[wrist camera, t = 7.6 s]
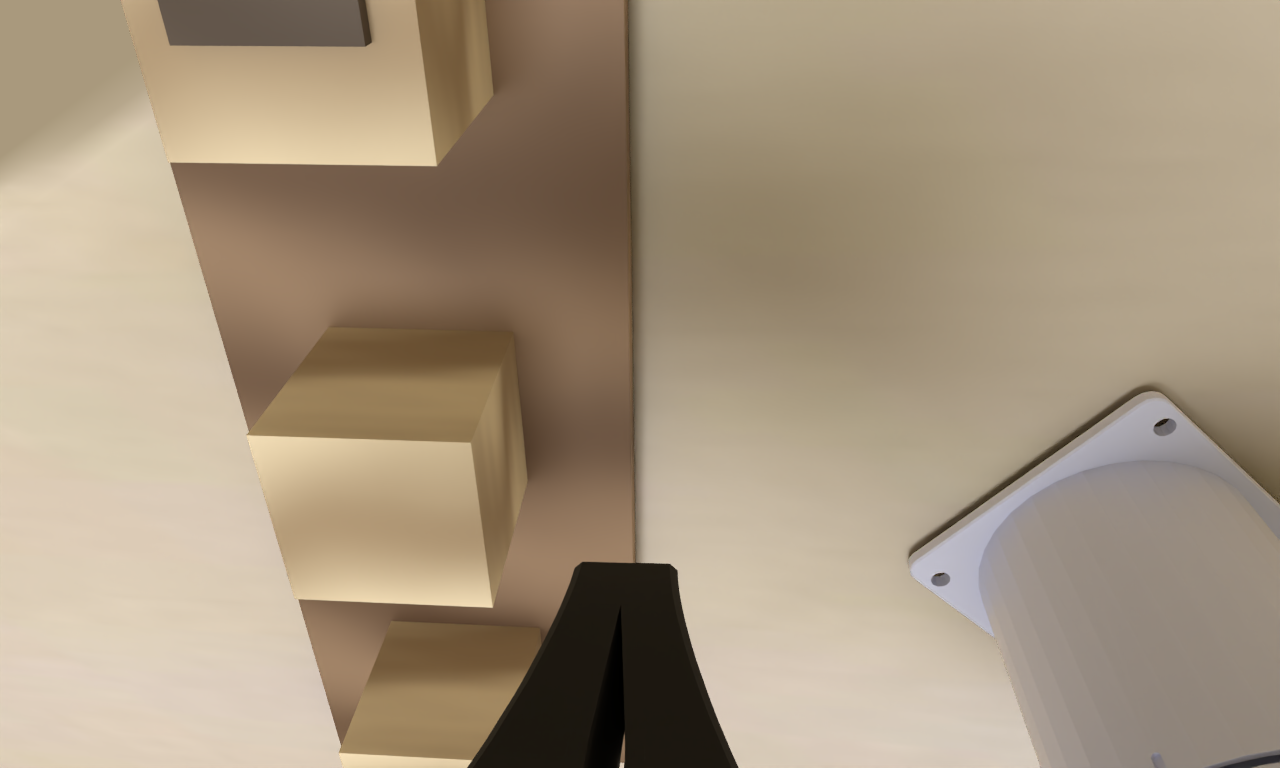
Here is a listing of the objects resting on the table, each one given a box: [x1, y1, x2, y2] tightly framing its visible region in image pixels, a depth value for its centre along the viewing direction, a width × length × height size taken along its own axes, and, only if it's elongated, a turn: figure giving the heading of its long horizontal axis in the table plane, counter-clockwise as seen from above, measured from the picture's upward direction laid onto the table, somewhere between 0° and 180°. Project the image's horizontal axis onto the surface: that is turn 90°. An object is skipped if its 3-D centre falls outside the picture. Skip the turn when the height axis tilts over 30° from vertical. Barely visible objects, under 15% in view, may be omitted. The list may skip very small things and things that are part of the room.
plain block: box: [246, 327, 528, 608], centre depth 21 cm, size 4×4×4 cm
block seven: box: [339, 621, 542, 768], centre depth 26 cm, size 4×4×5 cm
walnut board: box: [170, 0, 636, 763], centre depth 23 cm, size 28×10×1 cm, turn 1°
